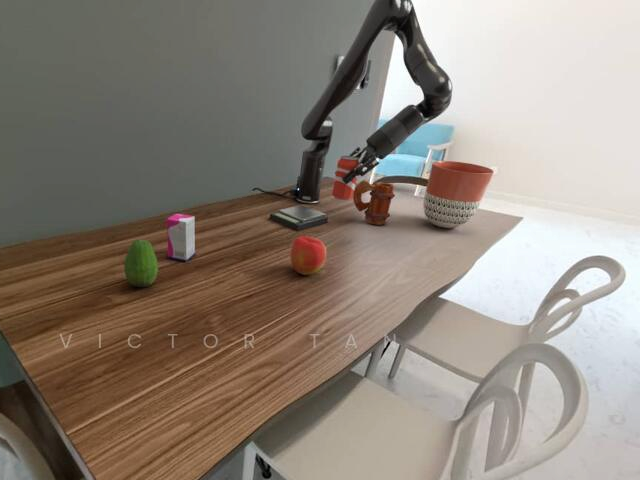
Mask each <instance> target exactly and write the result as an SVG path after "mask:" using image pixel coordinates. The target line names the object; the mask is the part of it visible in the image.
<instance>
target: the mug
mask: <svg viewBox="0 0 640 480" xmlns="http://www.w3.org/2000/svg"><path fill="white" fill-rule="evenodd" d="M394 188H395V185H394V184H393V183H390V182H386V183H385V182H381V181H379V182H375V184H371V183H370V182H369V181H368V180H367V179H363V180H361V181H360V182H358V183H357V184H356V185H355V189H354V194H353V198H352V199H353V203H354V206H355V208H356V210H358V212H363V213H364V215H365V216H364V220H365V221H366V222H368V223H370V224H372V225H376V226H380V225H383V224H385V223H386V222H387V220H388V218H390V217H391V214H390V213H389V210H390V208H391V207H390V206H391V203H392V200H393V198H395V196H396V194H395V193H394ZM369 191H370V192H369ZM367 192H369V195H370V201H367V202H364V201H362V195H363V194H365V193H367Z"/></svg>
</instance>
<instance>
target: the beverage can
mask: <svg viewBox="0 0 640 480" xmlns="http://www.w3.org/2000/svg"><path fill="white" fill-rule="evenodd" d="M358 160H359V158H357V157H354V156H349V155H341V156H340V158H339V160H338V161H337V165H336V171H335V172H336V174H335V177H334V182H333V188H332V193H331V194H332V197H334V199H337V200H340V201H348V200H350V199H353V194H354V190H355V188H356V185H357V184H356V183H357V178H358V176H356V177H355V178H354V179H353V180H351V181H350V182H349V183H348V184H345V183H344V182H343V180H342V178H343V177H344V176H345V175H346V174H348V173H349V172H350V171H351V170H353V169H354V167H355V166H356V162H357V161H358Z"/></svg>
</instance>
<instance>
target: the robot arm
mask: <svg viewBox="0 0 640 480" xmlns="http://www.w3.org/2000/svg"><path fill="white" fill-rule="evenodd" d="M383 30H384V31H386V32H392V33H394V34H395V35H396V37H397V38H398V39H399V41H400V42H401V45H402V57H403V58H402V59H403V64H404V66H405V69H406V70H407V73H408V74H409V77H410V78H411V80H412V82H413V83H414V84H415V86H418V87H420V90H421V92H422V94H423V99H422V100H421V101H420V102H418V103H417V104H408V105H406V106H405V107H403V109H401V110H400V111H399V112H398V113H396V114H395V115H394V116H393V117H391V118H390V119H389V120H387V121H386V122H385V123H384V124H383V125H382V126H380V127H379V128H378V129H377V130H376V131H374V132H373V133H372V134H371V135H370V136H368V137H367V139H366V146H364V147H363V148H360V146H358V147H356V148H355V149H354V150H353V151H352V152H351V153H350V154H349V155H348V156H354V157H357V158H359V160H358V161H357V162H356V166H355V167H354V169H353V170H351V171H350V172H349V173H348V174H346V175H345V176H344V177H343V178H342V180H343V182H344V183H345V184H348V183H349V182H350V181H351V180H353V179H354V178H355V177H356V176H357V177H364V176H365V175H366V174H368V173H369V172H371V171H372V170H373V169H374V168H376V167H377V166H379V164H380V163H381V162H380V161H379V160H384V159H385V158H387V156H389V155H390V154H391V153H392V152H394V151H395V150H396V149H397V148H398V147H400V146H401V145H402V144H403V143H404V142H405V141H406V140H407V139H408V138H409V137H410V136H411V135H412V134H413V133H415V132H416V131H417V130H419V128H421V127H422V126H424V125H426V124H428V123H429V122H431V121H433V120H434V119H436V118H437V117H439V116H441V115H442V114H443V113H445V111H446V110H447V109H448V108H449V106H450V105H451V103H452V97H453V82H452V80H451V78H450V76H449V75H448V73H447V72H446V71H445V70H444V68H442V67H441V66H440V65H439V64H438V61H437V60H436V57H435V56H434V54H433V52H432V50H431V49H430V47H429V45H428V43H427V41H426V39H425V37H424V34H423V32H422V29H421V26H420V22H419V20H418V16H417V13H416V9H415V6H414V3H413V1H412V0H373V2H372V4H371V6H370V8H369V9H368V11H367V13H366V16H365V18H364V19H363V22H362V24H361V26H360V28H359V30H358V32H357V34H356V36H355V37H354V40H353V41H352V43H351V44H350V47H349V48H348V50H347V52H346V54H345V55H344V56H343V59H341V61H340V63H339V65H338V67H336V69H335V71H334V73H333V74H332V77H331V79H330V80H329V82H328V84H327V85H326V87H325V88H324V90H323V91H322V93H321V94H320V96H319V98H318V100H316V103H314V105H313V106H312V108H311V109H310V110H309V111H308V113H307V115H306V116H305V117H304V119H303V121H302V124H301V129H300V133H301V136H302V138H303V139H305V140H307V141H312V142H311V144H310V145H309V146H307V147H306V148H304V149H303V151H302V154H301V155H302V156H301V163H300V172H299V175H298V176H297V181H296V187H293V188H290V190H287V191H285V192H283V193H279V192H276V191H268V190H267V191H266V190H263V189H262V188H259V187H254V188H252V190H251V191H253V192H254V191H256V190H257V191H260V192H261V193H264V194H270V195H271V194H272V195H276V196H280V197H283V196H286V195H287V194H288V193H289V196H290V197H294V199H295V200H296V201H297V202H299V203H301V204H307V205H315V204H319V203H320V196H321V190H322V183H323V177H324V172H325V165H326V159H327V155H328V153H329V152H330V147H331V142H332V137H333V134H334V121H333V118H332V117H331V113H332V112H333V111H334V110H335V109H337V108H338V107H339V106H340V105H341V104H343V103H344V102H345V101H347V100H348V99H349V98H350V97H351V96H352V95H354V93H355V91H356V90H357V89H358V87H359V86H360V85H361V83H362V81H363V79H364V78H365V76H366V74H367V70H368V66H369V58H370V52H371V50H372V47H373V45H374V43H375V42H376V40H377V38H378V37H379V35H380V34H381V33H382V31H383ZM334 175H336V171H334Z"/></svg>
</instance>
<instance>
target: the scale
mask: <svg viewBox="0 0 640 480" xmlns="http://www.w3.org/2000/svg"><path fill="white" fill-rule="evenodd" d="M269 220H271V221H273V222H276V223H278V224H280V225H283V226H285V227H287V228H290V229H293V230H295V231H298V232H299V231H302V230H305V229H308V228H313V227H317V226H320V225H323V224H327V223H328V221H329V216H326V215H325V216H323V217H320V218H316V219H312V220H308V221H305V222H302V221H300V220H297V219H295V218H292V217H290V216H287V215H284V214H282V213H279V211H275V212H272V213H271V212H270V213H269Z"/></svg>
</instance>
